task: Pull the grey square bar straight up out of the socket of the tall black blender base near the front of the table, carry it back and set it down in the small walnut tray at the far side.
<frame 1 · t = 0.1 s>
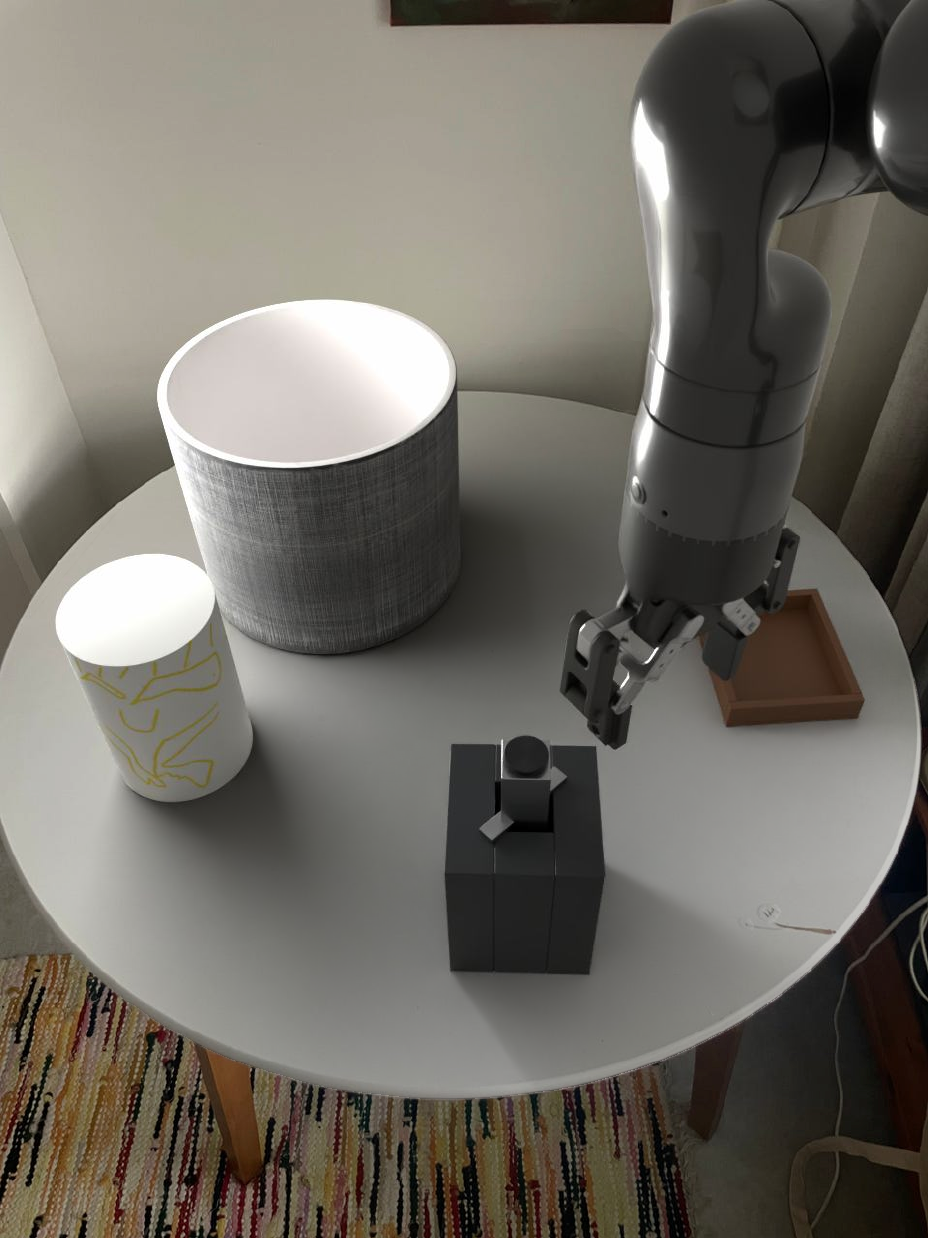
hand: (664, 702, 59), 25 cm above the table, tool pointing down, fingers open, 8 cm apart
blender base: (519, 909, 77), on the table
grey square bar: (520, 874, 73), point 5 cm above the table, touching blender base
tray: (770, 663, 93), on the table
white patterned cylinder: (186, 746, 88), on the table
planter: (336, 564, 104), on the table
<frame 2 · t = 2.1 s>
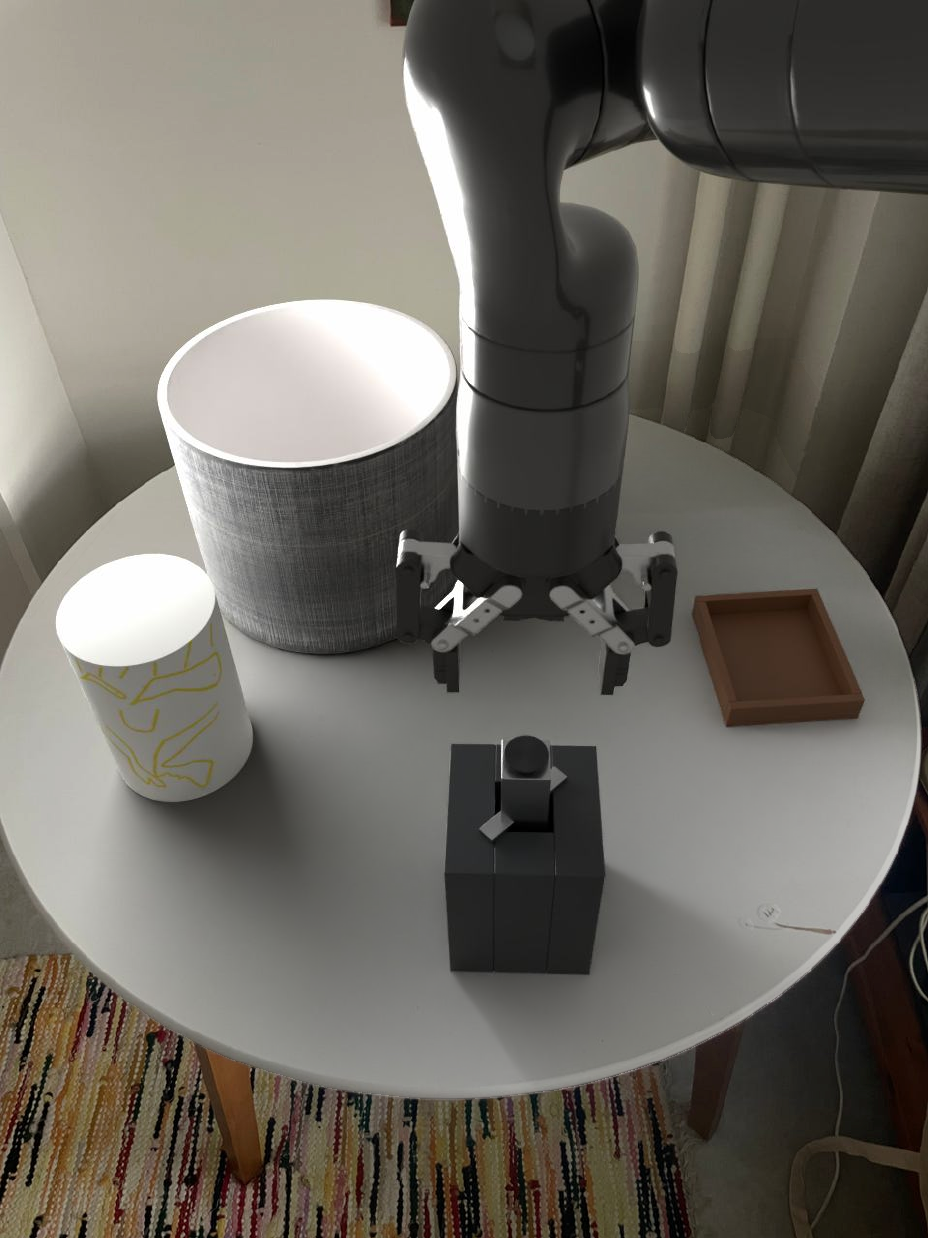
hand: (529, 682, 58), 27 cm above the table, tool pointing down, fingers open, 8 cm apart
nothing on the table moved.
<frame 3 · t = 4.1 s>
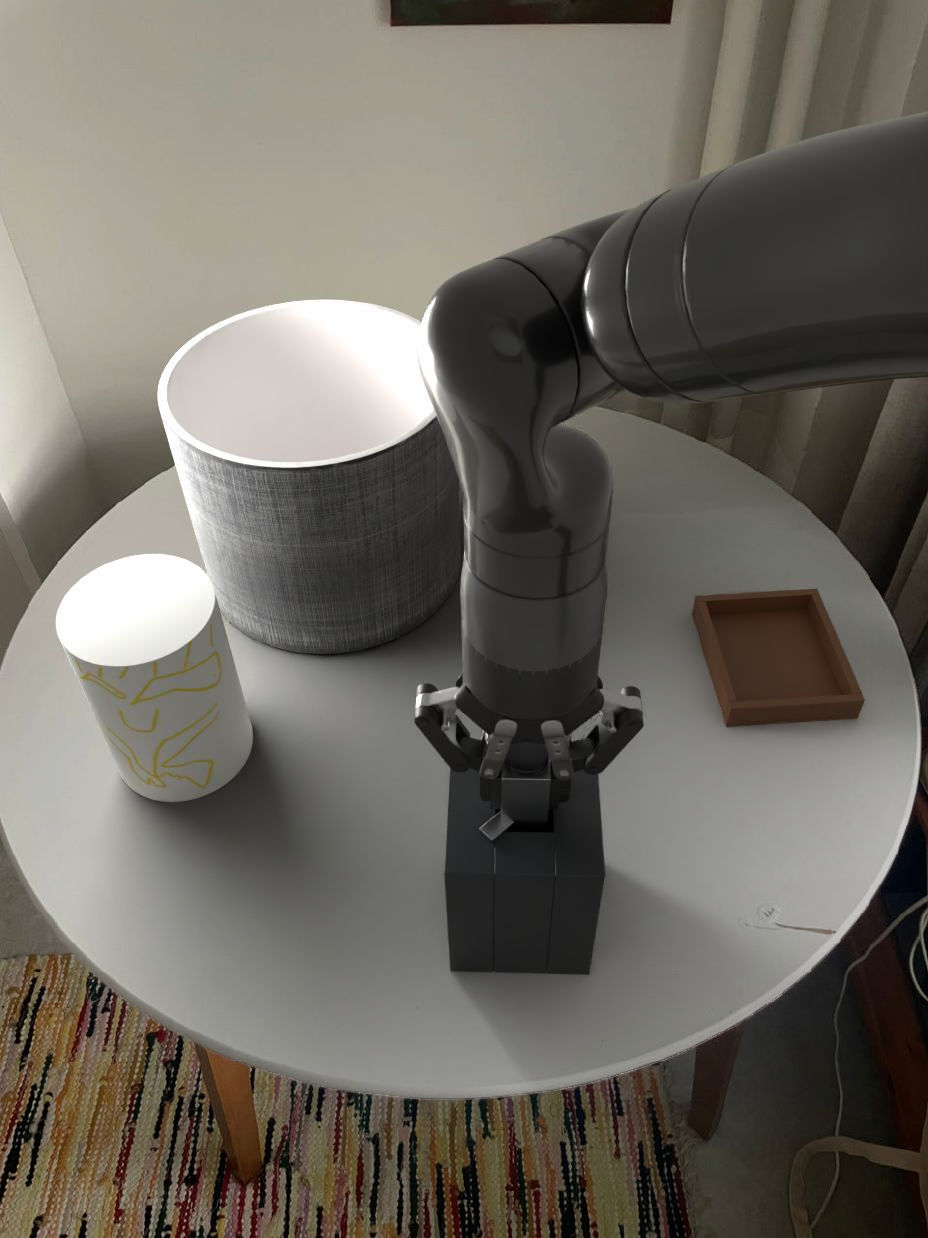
hand: (524, 797, 66), 15 cm above the table, tool pointing down, fingers closed on grey square bar, 3 cm apart
grey square bar: (520, 874, 73), point 5 cm above the table, touching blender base, gripper
everything else where it was.
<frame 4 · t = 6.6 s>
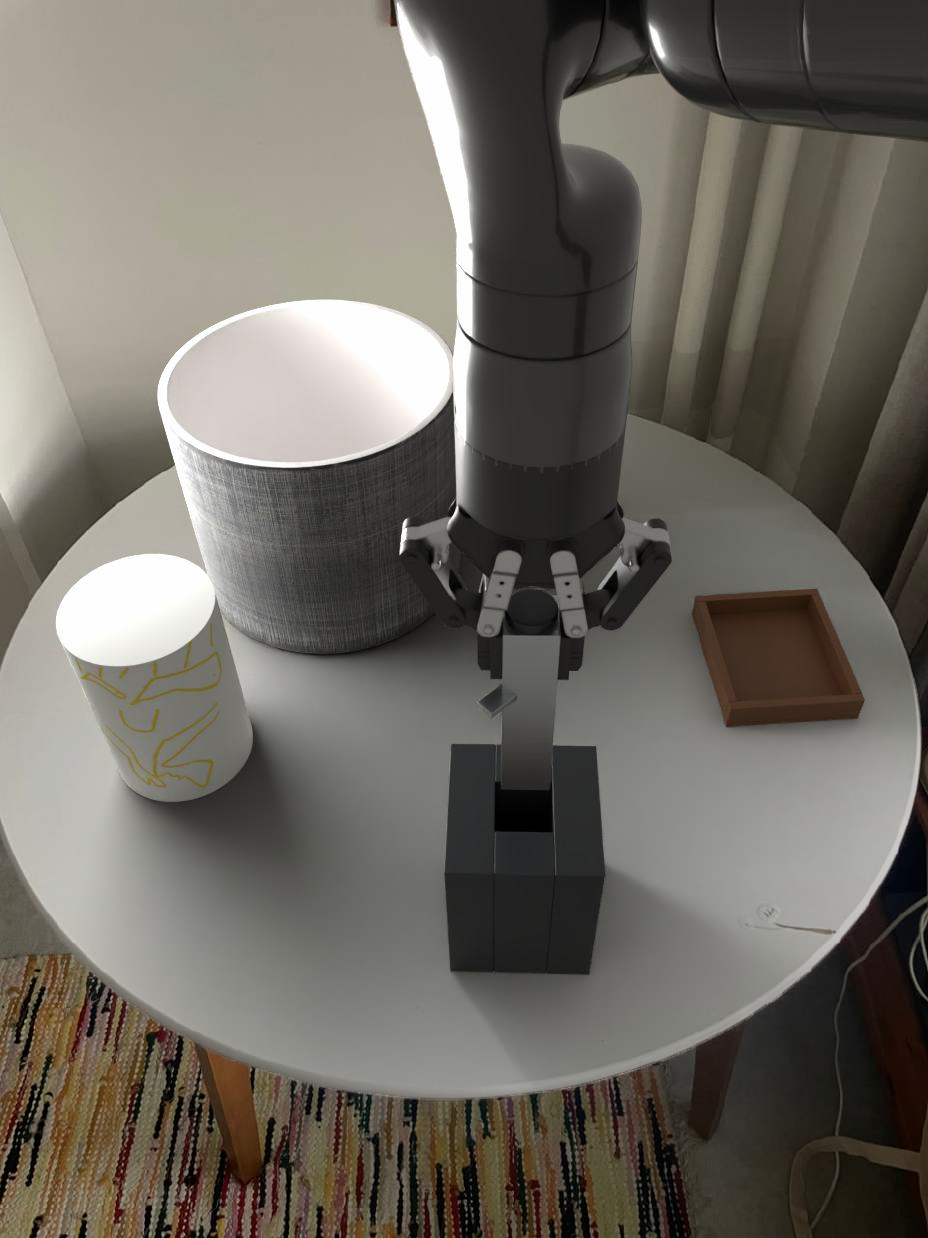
hand: (529, 667, 57), 28 cm above the table, tool pointing down, fingers closed on grey square bar, 3 cm apart
grey square bar: (525, 770, 64), point 18 cm above the table, touching gripper
everything else where it was.
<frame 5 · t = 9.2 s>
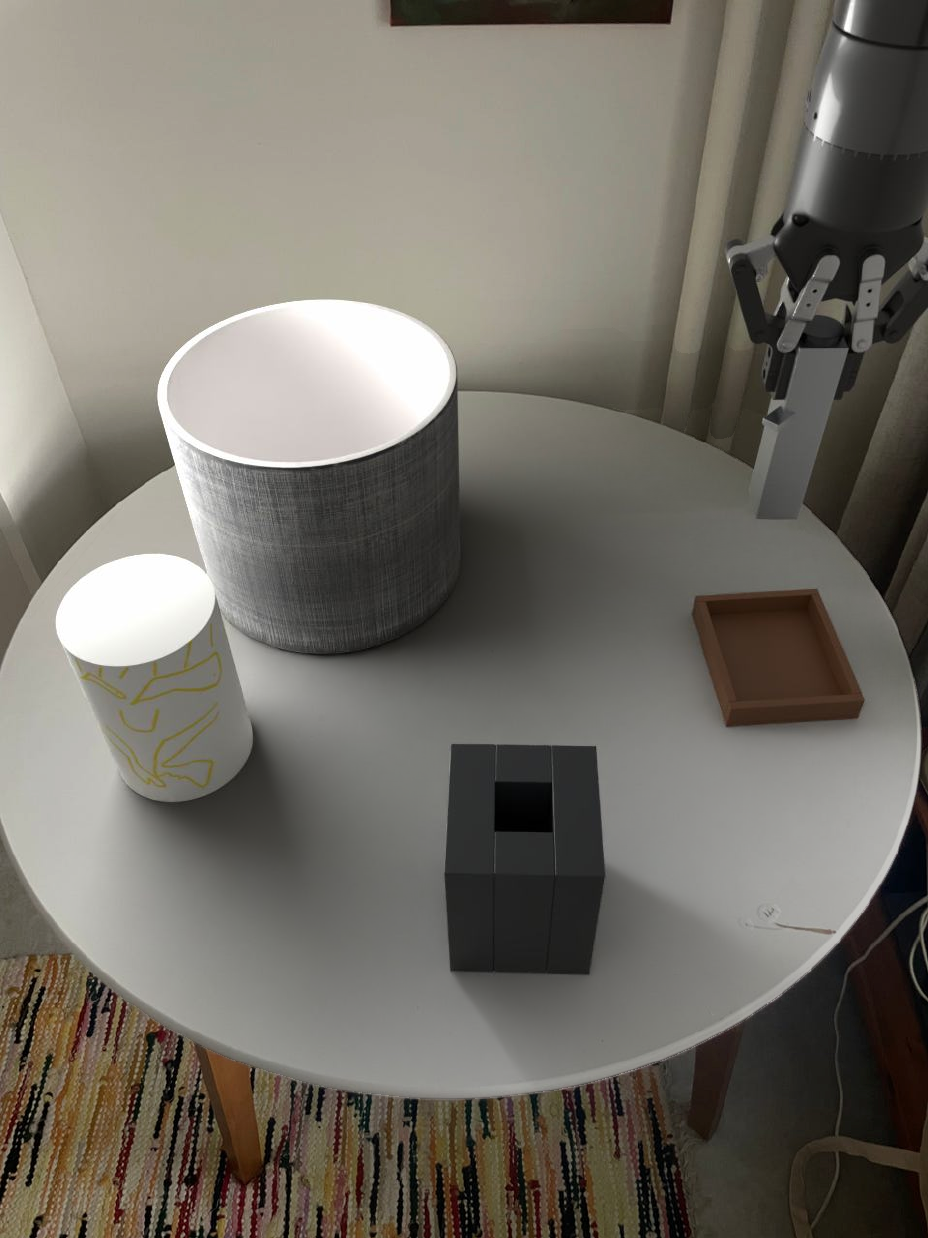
hand: (804, 391, 67), 32 cm above the table, tool pointing down, fingers closed on grey square bar, 3 cm apart
grey square bar: (772, 505, 74), point 23 cm above the table, touching gripper
everything else where it was.
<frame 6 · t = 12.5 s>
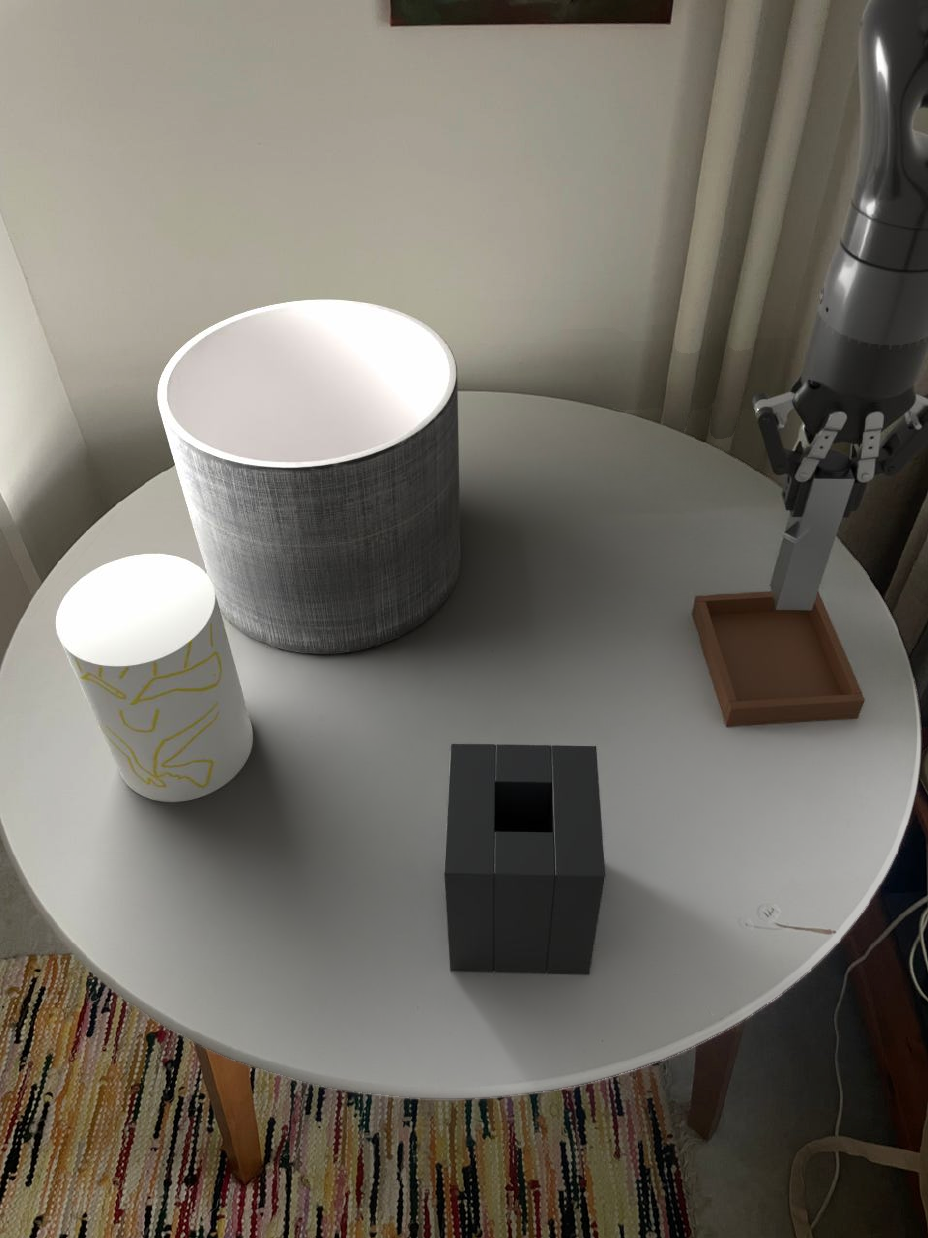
hand: (817, 509, 80), 18 cm above the table, tool pointing down, fingers closed on grey square bar, 3 cm apart
grey square bar: (790, 597, 87), point 9 cm above the table, touching gripper
everything else where it was.
when the fingers open (10 cm above the table, at t = 14.6 s): grey square bar stays where it is, resting on tray.
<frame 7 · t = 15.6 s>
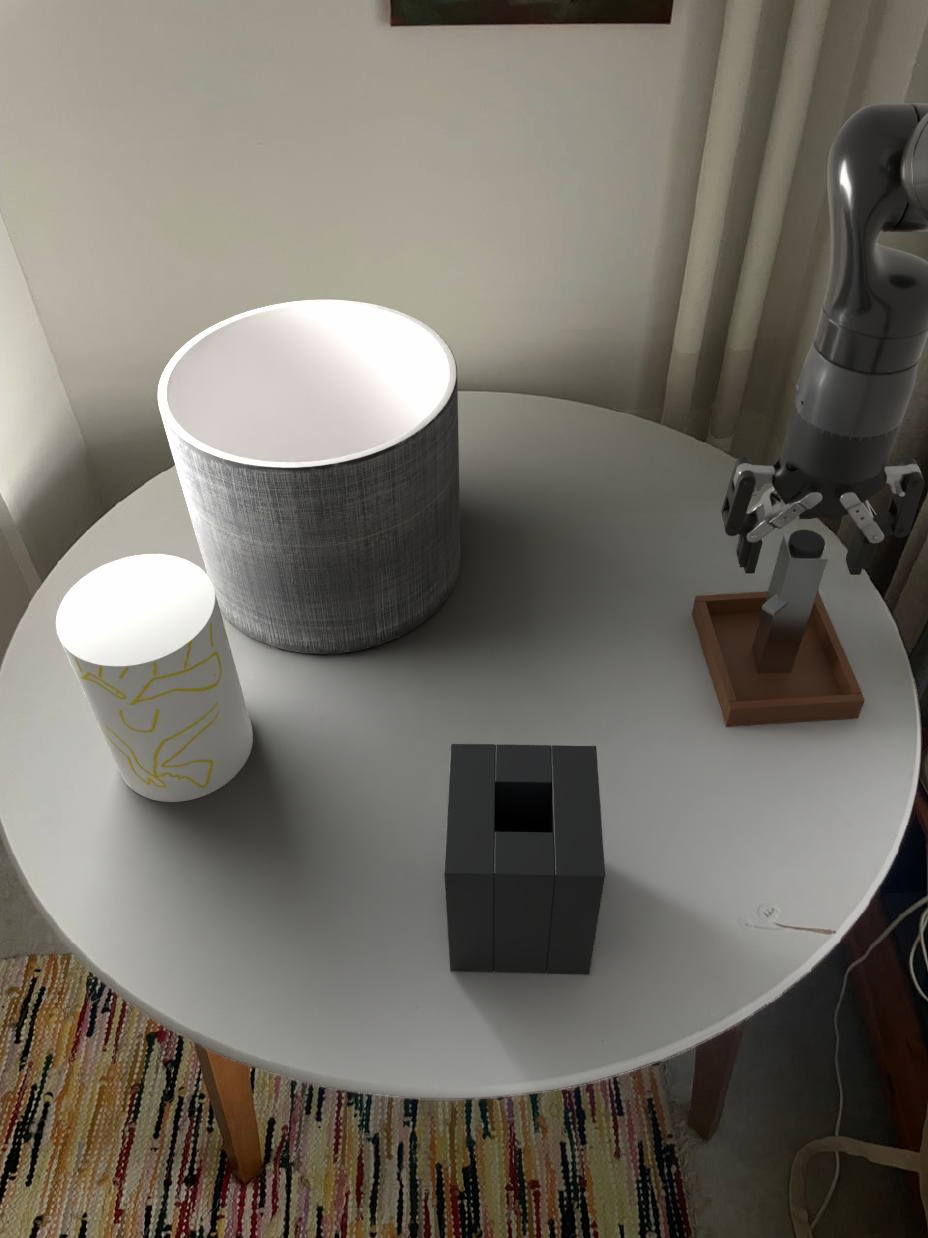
hand: (800, 567, 85), 12 cm above the table, tool pointing down, fingers open, 8 cm apart
grey square bar: (771, 660, 93), resting on tray
everything else where it was.
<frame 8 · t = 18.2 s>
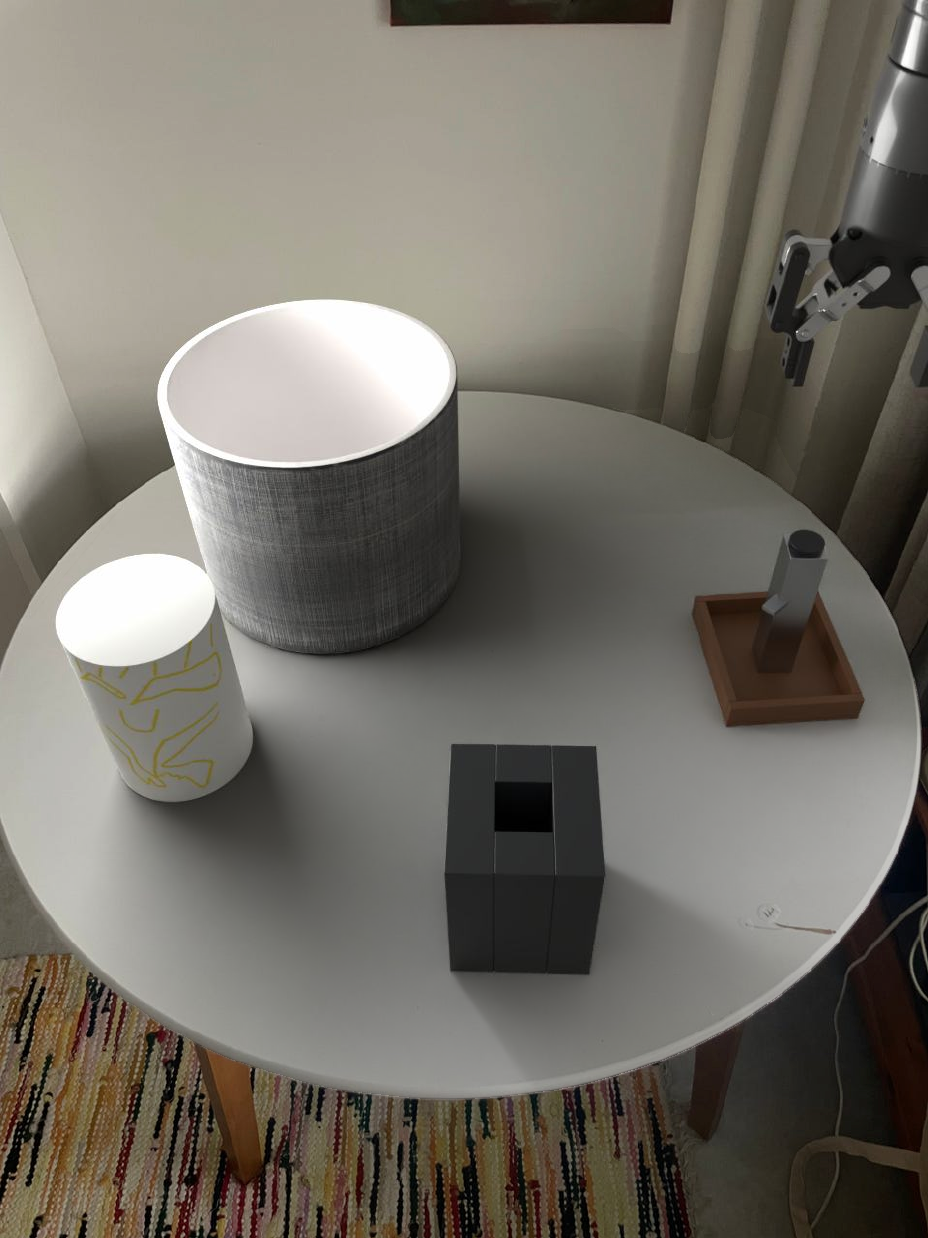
hand: (856, 380, 72), 30 cm above the table, tool pointing down, fingers open, 8 cm apart
nothing on the table moved.
at the end: grey square bar inside the target area in the tray (0.0 cm from its centre), point 0.5 cm above the tray's base; grey square bar touching tray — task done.
